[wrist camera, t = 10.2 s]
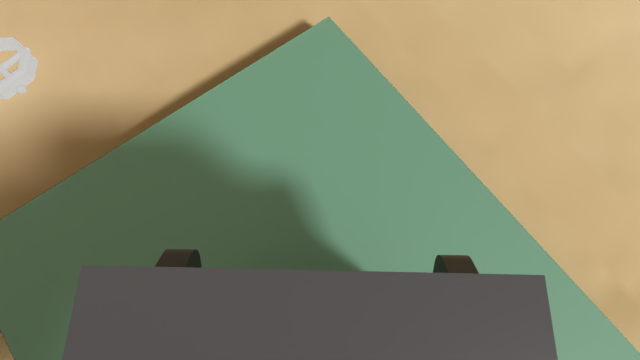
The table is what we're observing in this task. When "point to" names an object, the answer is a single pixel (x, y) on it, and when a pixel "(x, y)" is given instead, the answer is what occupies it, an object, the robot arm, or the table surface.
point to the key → (22, 74)
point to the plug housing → (306, 315)
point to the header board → (278, 199)
